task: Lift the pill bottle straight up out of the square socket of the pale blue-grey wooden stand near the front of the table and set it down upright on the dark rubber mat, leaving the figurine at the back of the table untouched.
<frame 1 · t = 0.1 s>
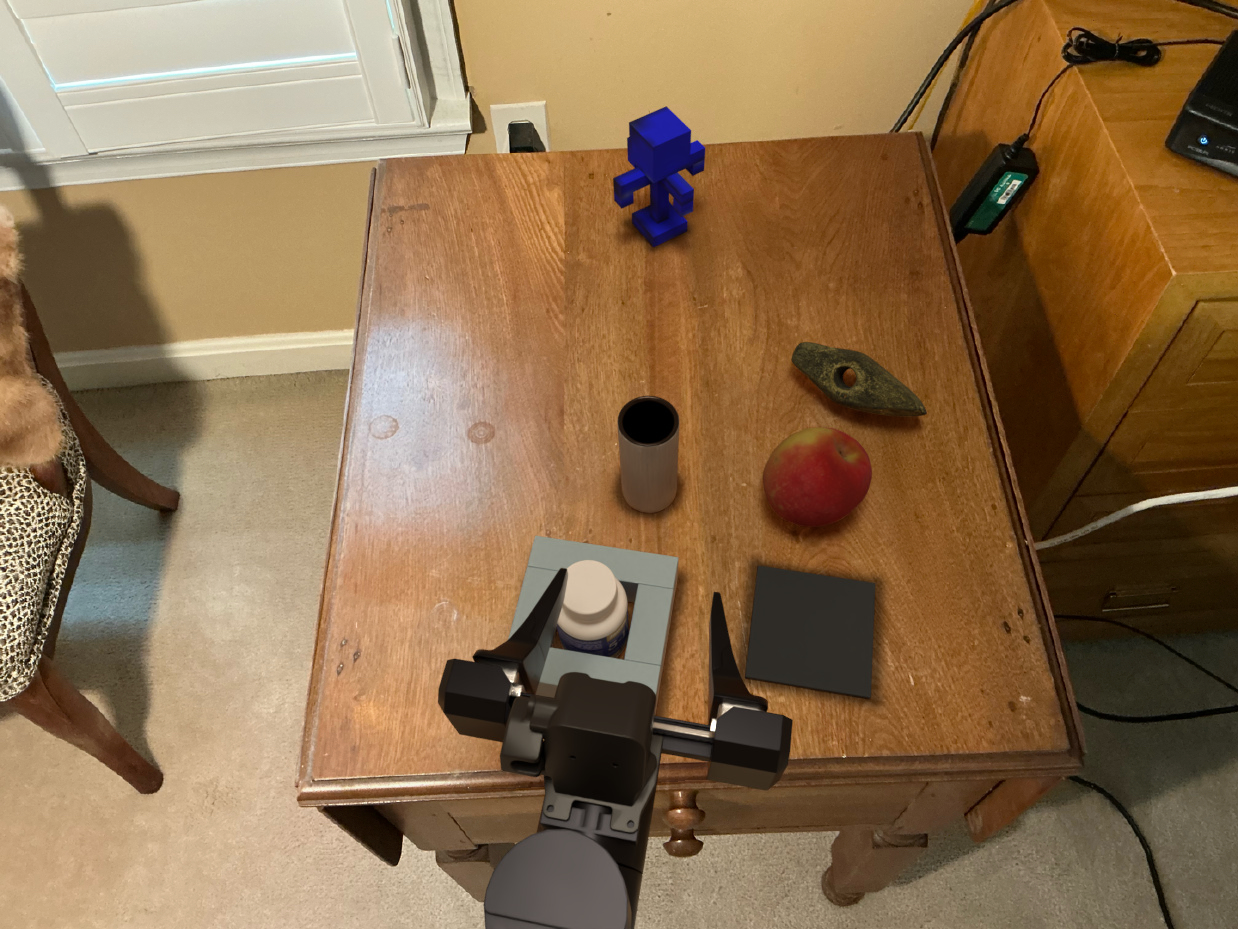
hand: (639, 582, 53), 15 cm above the table, tool horizontal, fingers open, 9 cm apart
grey cylindrical tube: (649, 490, 73), on the table
decorative stone: (852, 398, 77), on the table
apple: (808, 502, 72), on the table
mat: (811, 630, 66), on the table
figurine: (659, 228, 89), on the table
pill bottle: (595, 634, 67), resting in stand
stand: (594, 633, 67), on the table
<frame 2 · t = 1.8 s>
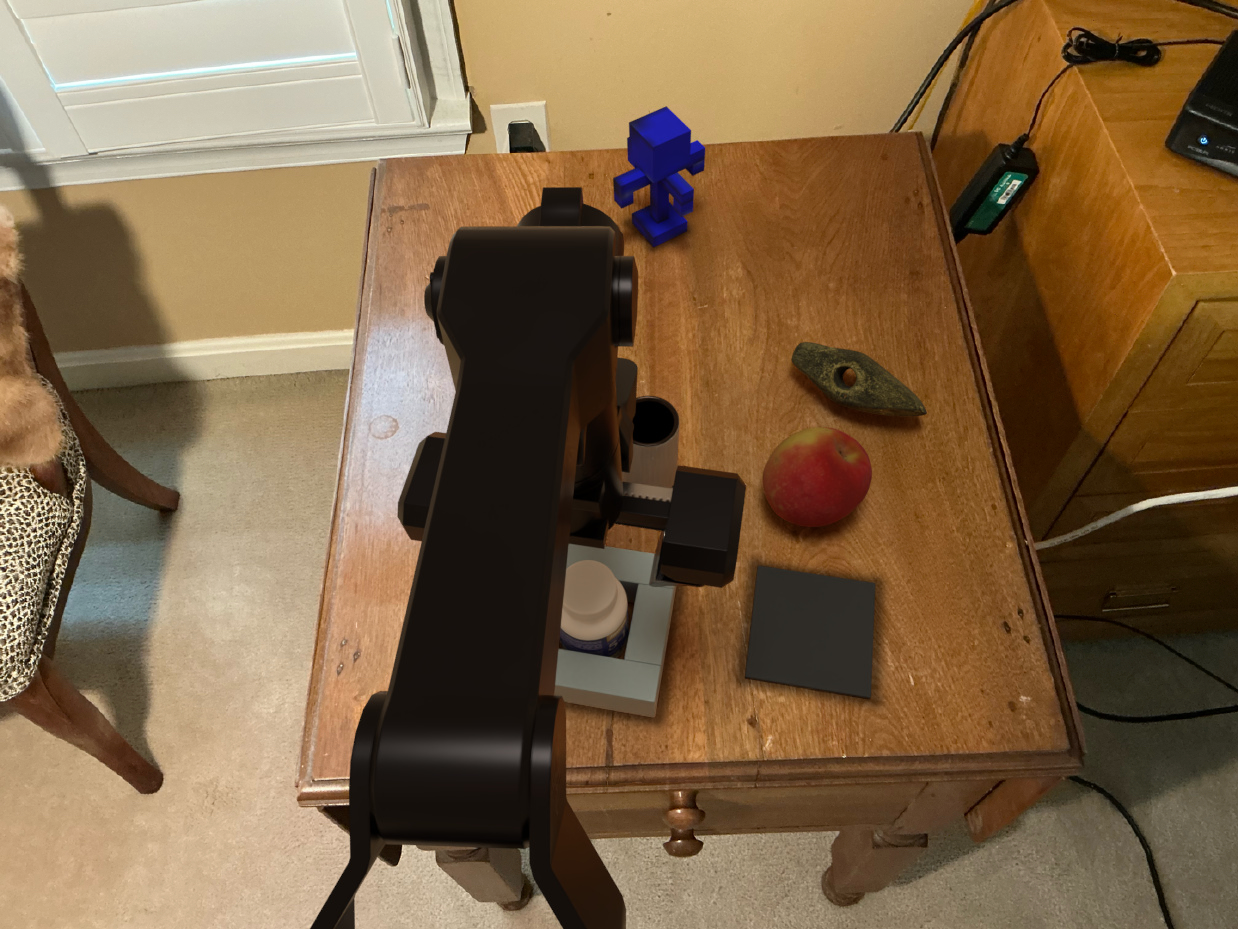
hand: (583, 568, 56), 12 cm above the table, tool pointing down, fingers open, 9 cm apart
nothing on the table moved.
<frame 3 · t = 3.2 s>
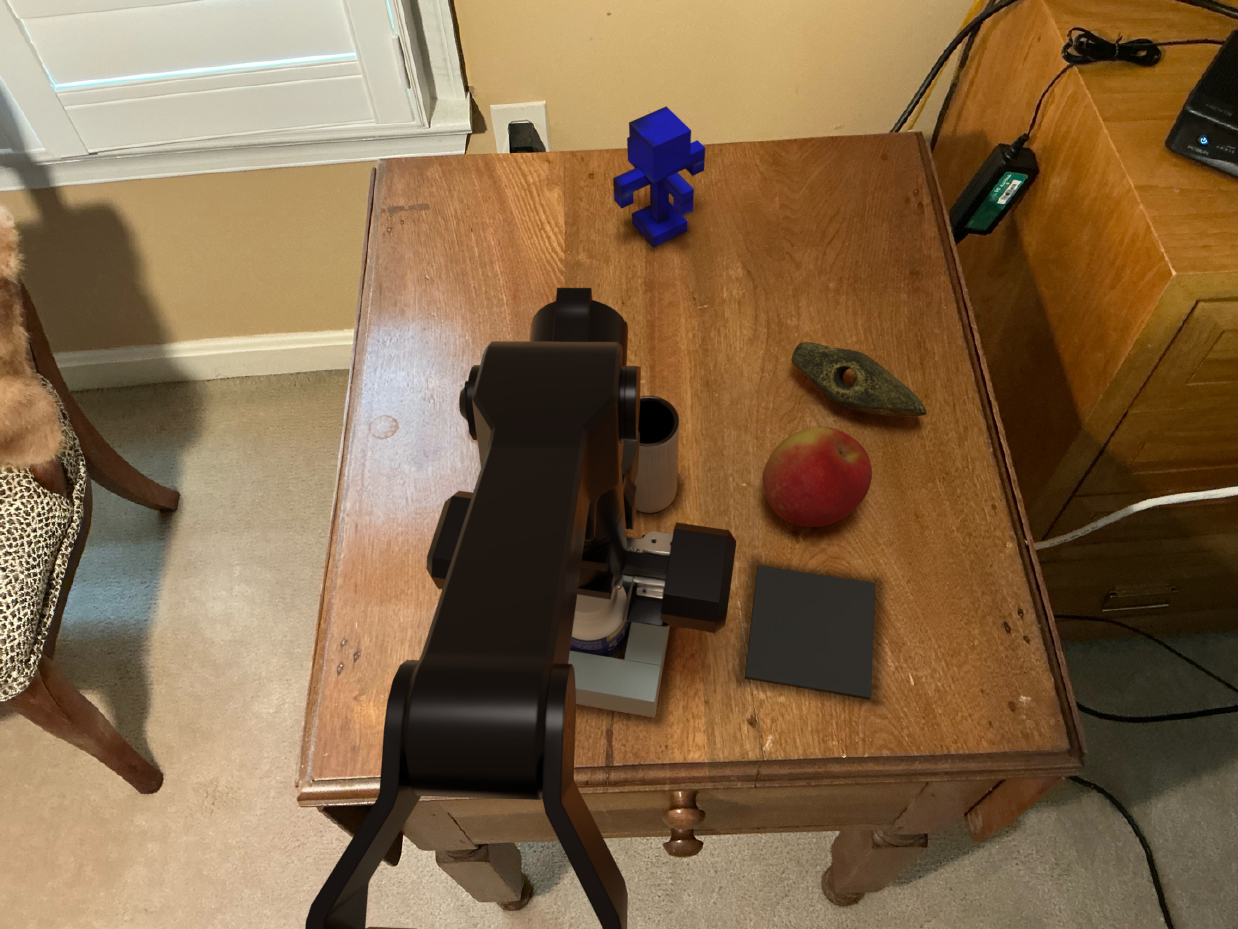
hand: (591, 609, 62), 5 cm above the table, tool pointing down, fingers closed on pill bottle, 5 cm apart
pill bottle: (595, 634, 67), resting in stand, touching gripper
everything else where it was.
when the fingers open (5 cm above the table, at t = 8.7 s): pill bottle stays where it is, resting on mat.
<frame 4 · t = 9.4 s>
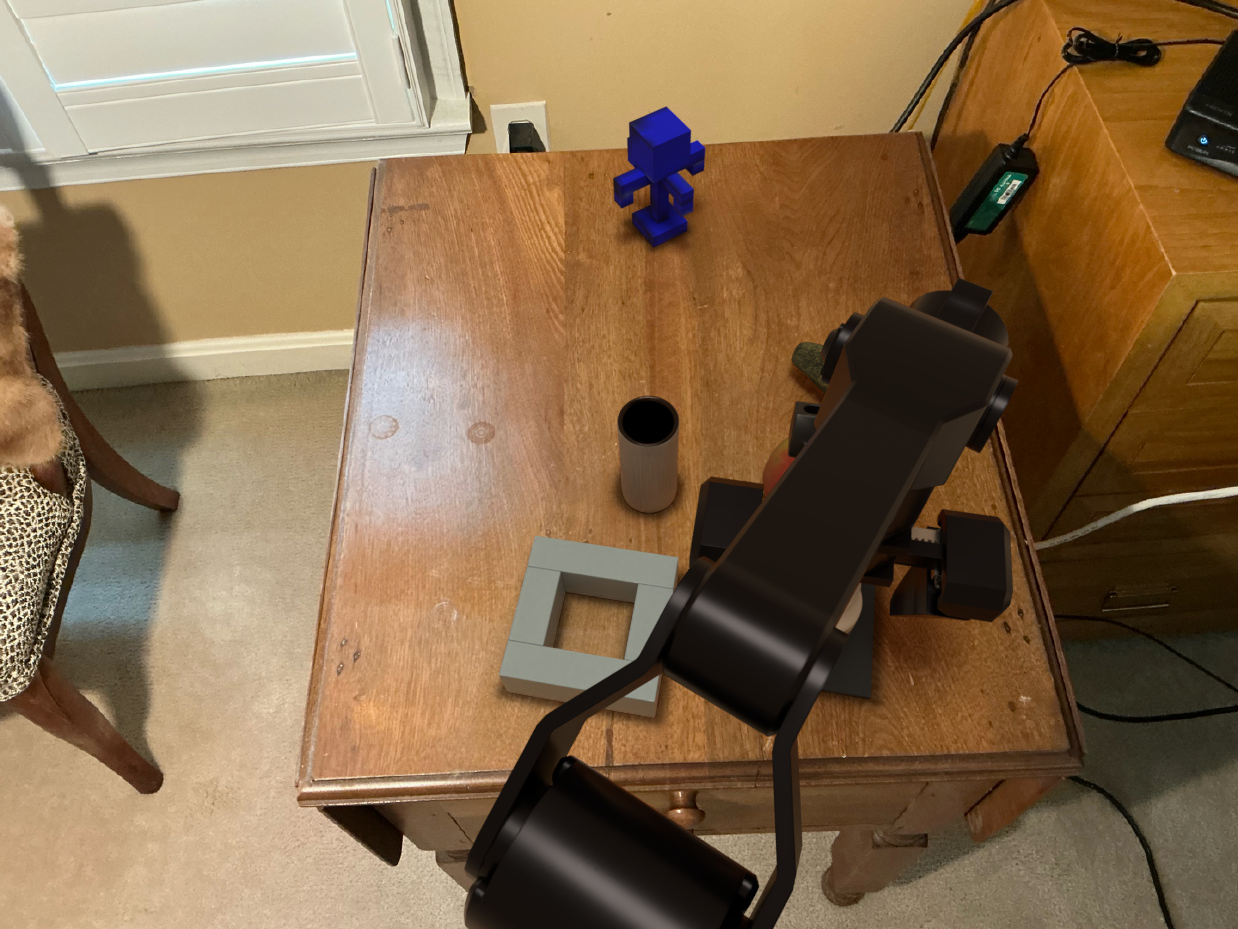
hand: (824, 598, 61), 6 cm above the table, tool pointing down, fingers open, 9 cm apart
pill bottle: (810, 630, 66), resting on mat
everything else where it was.
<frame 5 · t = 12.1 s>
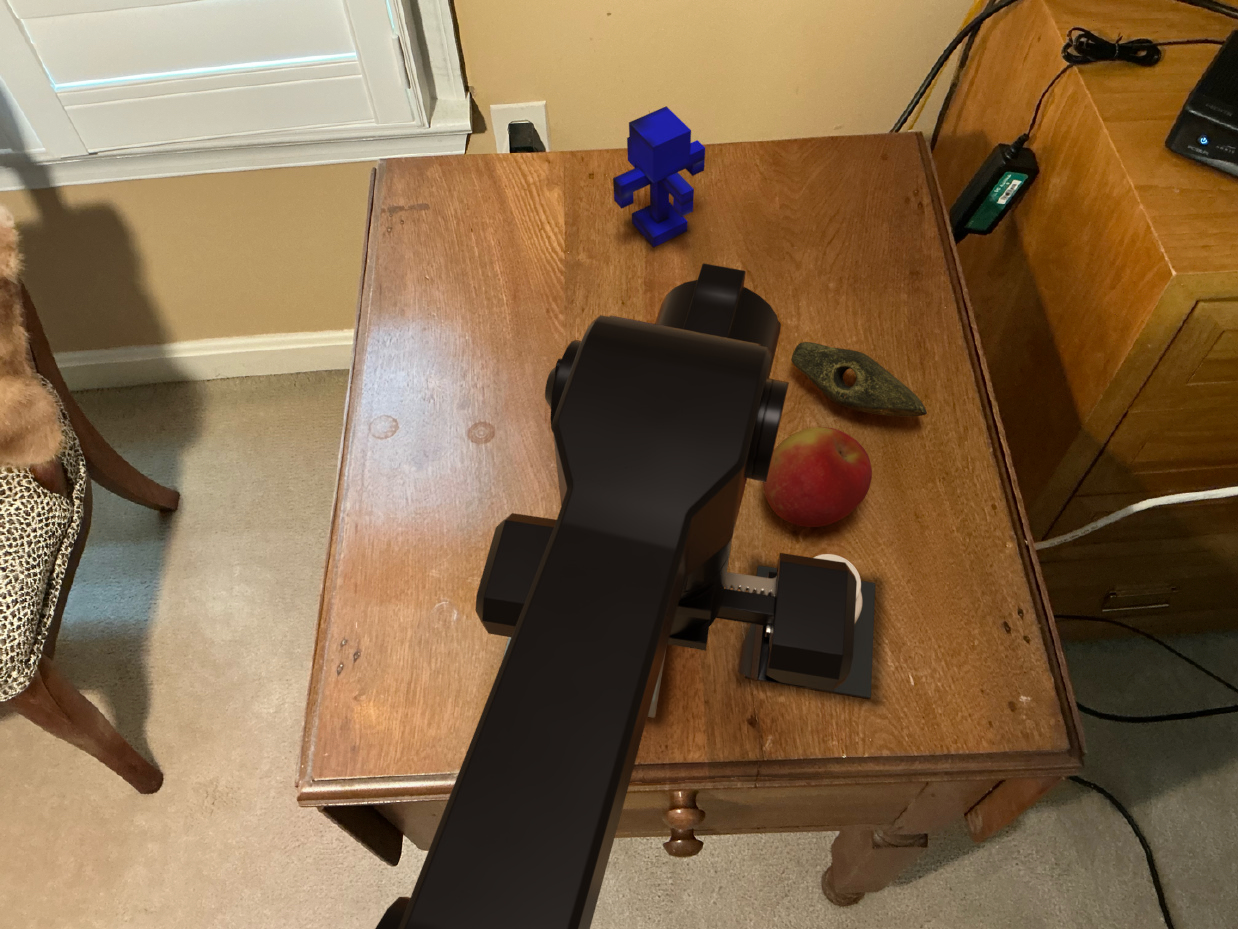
hand: (664, 652, 52), 13 cm above the table, tool pointing down, fingers open, 9 cm apart
nothing on the table moved.
at the end: pill bottle inside the target area on the mat (0.1 cm from its centre), point 0.2 cm above the mat's base; pill bottle tilted 0°; figurine moved 0.2 cm from its start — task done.
